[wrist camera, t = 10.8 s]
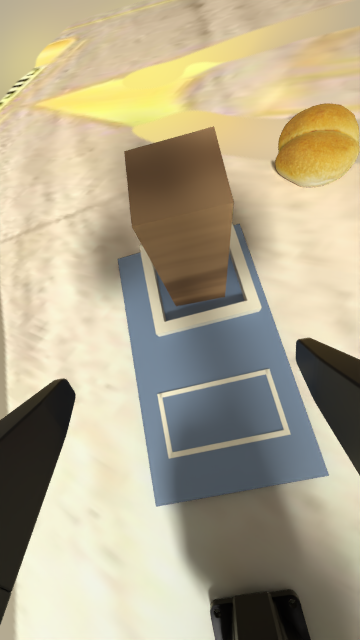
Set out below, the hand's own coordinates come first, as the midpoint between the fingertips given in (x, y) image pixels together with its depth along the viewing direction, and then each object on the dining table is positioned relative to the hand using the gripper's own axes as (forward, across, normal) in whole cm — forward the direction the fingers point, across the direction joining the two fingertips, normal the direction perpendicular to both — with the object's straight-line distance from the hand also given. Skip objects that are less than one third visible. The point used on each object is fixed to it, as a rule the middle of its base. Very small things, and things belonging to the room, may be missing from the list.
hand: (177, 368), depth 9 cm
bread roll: (+26, -17, -6) cm, 31 cm away
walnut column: (+16, -1, +2) cm, 16 cm away
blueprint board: (+12, -1, +8) cm, 14 cm away
